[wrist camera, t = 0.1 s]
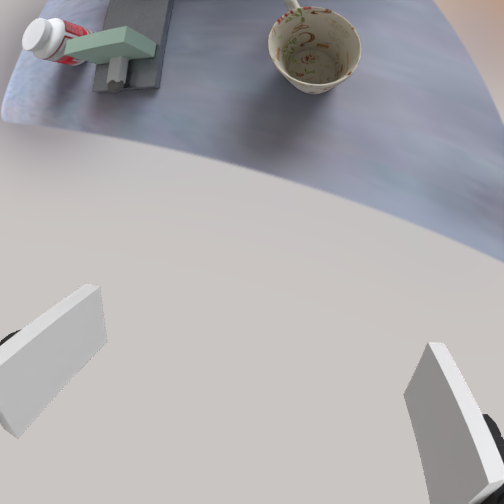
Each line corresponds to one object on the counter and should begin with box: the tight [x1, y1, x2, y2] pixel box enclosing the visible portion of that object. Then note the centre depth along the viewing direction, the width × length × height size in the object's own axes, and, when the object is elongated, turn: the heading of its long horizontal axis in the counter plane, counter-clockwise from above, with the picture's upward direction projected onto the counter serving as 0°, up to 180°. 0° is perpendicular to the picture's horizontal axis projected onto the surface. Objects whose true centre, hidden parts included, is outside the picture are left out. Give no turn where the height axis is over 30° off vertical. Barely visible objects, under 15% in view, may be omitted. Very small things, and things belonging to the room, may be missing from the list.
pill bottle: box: [22, 18, 93, 66], centre depth 29 cm, size 6×6×11 cm
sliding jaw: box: [64, 26, 156, 94], centre depth 30 cm, size 7×9×8 cm
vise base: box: [93, 0, 174, 93], centre depth 28 cm, size 20×10×8 cm, turn 174°
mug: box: [268, 0, 361, 94], centre depth 27 cm, size 8×13×10 cm, turn 21°
